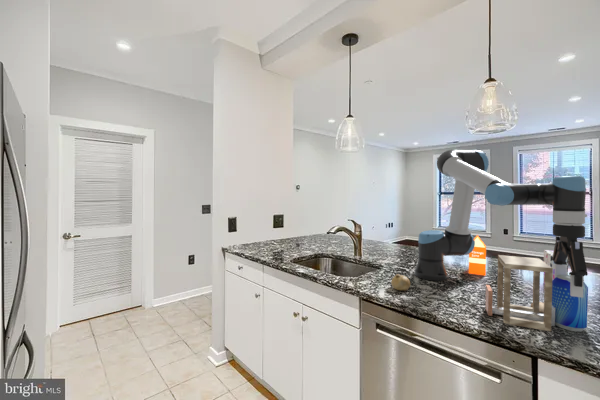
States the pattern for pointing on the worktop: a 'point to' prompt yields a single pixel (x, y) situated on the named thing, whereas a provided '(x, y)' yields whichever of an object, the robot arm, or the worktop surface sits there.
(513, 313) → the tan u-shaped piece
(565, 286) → the beer can
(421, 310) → the worktop surface
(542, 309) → the coaster
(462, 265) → the worktop surface
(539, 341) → the worktop surface
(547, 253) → the candy box
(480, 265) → the orange juice
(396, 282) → the onion
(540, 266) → the wooden open frame
